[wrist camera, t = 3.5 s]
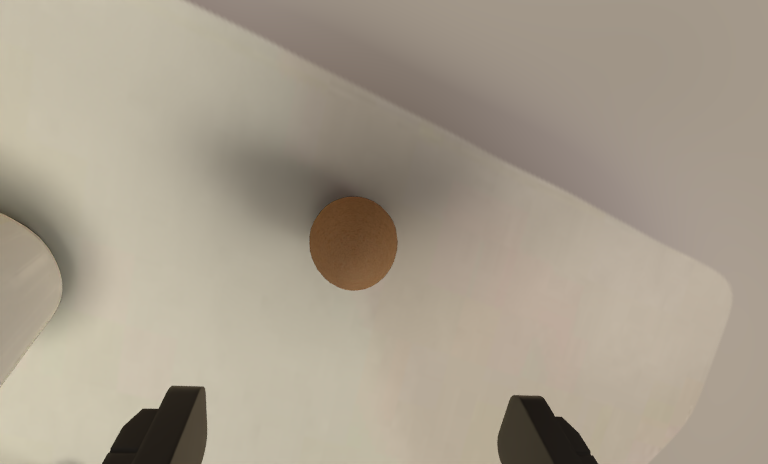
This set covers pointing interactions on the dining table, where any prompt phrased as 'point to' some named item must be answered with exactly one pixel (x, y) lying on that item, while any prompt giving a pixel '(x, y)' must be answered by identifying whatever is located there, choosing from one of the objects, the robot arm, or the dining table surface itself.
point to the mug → (24, 291)
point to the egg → (353, 243)
